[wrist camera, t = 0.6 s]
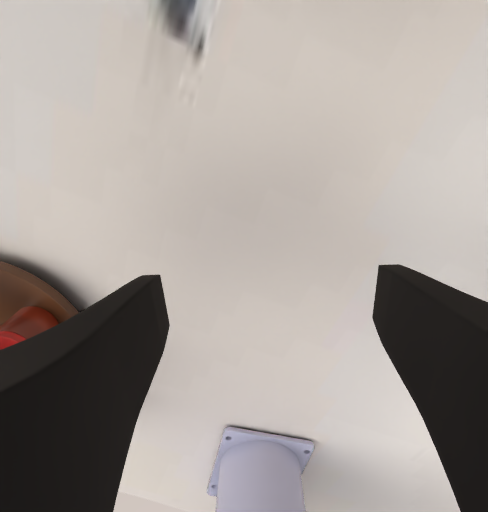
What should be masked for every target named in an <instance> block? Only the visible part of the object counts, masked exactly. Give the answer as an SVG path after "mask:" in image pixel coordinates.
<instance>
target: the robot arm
mask: <svg viewBox="0 0 488 512" xmlns="http://www.w3.org/2000/svg"><path fill="white" fill-rule="evenodd" d="M373 321H374V324H375V327H376V329H377V332H378V335H379V337H380V340H381V342H382V344H383V346H384V348H385V350H386V352H387V354H388V356H389V357H390V359H391V361H392V363H393V365H394V367H395V368H396V370H397V372H398V374H399V375H400V377H401V379H402V381H403V383H404V384H405V386H406V388H407V390H408V391H409V393H410V395H411V397H412V399H413V400H414V402H415V404H416V406H417V408H418V410H419V412H420V414H421V416H422V418H423V420H424V422H425V424H426V427H427V429H428V431H429V434H430V436H431V438H432V441H433V443H434V445H435V448H436V450H437V452H438V455H439V457H440V460H441V462H442V465H443V467H444V470H445V472H446V475H447V477H448V480H449V482H450V485H451V487H452V490H453V492H454V495H455V497H456V500H457V503H458V506H459V508H460V511H461V512H488V302H486V301H483V300H481V299H478V298H476V297H473V296H471V295H468V294H466V293H464V292H461V291H459V290H457V289H455V288H452V287H450V286H448V285H446V284H443V283H441V282H439V281H437V280H435V279H432V278H430V277H428V276H426V275H424V274H421V273H419V272H417V271H415V270H412V269H410V268H407V267H405V266H402V265H379V268H378V276H377V285H376V293H375V301H374V309H373ZM169 326H170V325H169V319H168V314H167V309H166V304H165V298H164V293H163V288H162V282H161V277H160V275H142V276H140V277H138V278H136V279H134V280H132V281H131V282H129V283H127V284H126V285H124V286H122V287H121V288H119V289H118V290H116V291H115V292H113V293H111V294H110V295H108V296H107V297H105V298H103V299H102V300H100V301H99V302H97V303H95V304H94V305H92V306H90V307H88V308H87V309H85V310H83V311H81V312H80V313H78V314H76V315H74V316H73V317H71V318H69V319H67V320H66V321H64V322H62V323H60V324H58V325H56V326H54V327H52V328H50V329H48V330H46V331H44V332H41V333H39V334H37V335H35V336H33V337H31V338H28V339H26V340H24V341H21V342H19V343H16V344H14V345H11V346H9V347H6V348H4V349H1V350H0V512H113V510H114V505H115V500H116V497H117V492H118V488H119V485H120V481H121V477H122V473H123V469H124V465H125V461H126V457H127V453H128V450H129V446H130V443H131V439H132V435H133V432H134V428H135V425H136V422H137V419H138V416H139V413H140V410H141V408H142V405H143V403H144V400H145V397H146V395H147V392H148V390H149V387H150V385H151V382H152V380H153V377H154V375H155V372H156V370H157V367H158V364H159V362H160V359H161V357H162V354H163V351H164V347H165V343H166V339H167V335H168V330H169ZM313 450H314V444H313V442H312V441H308V440H303V439H297V438H291V437H286V436H280V435H274V434H269V433H263V432H257V431H251V430H246V429H240V428H234V427H227V428H225V429H224V432H223V436H222V439H221V443H220V446H219V450H218V453H217V457H216V460H215V464H214V467H213V470H212V474H211V477H210V481H209V484H208V488H207V493H208V495H211V496H216V497H217V502H216V512H306V509H305V501H304V493H303V486H302V478H301V475H302V473H303V471H304V469H305V467H306V465H307V462H308V460H309V458H310V456H311V454H312V452H313Z"/></svg>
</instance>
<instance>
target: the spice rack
mask: <svg viewBox="0 0 488 512" xmlns="http://www.w3.org/2000/svg"><path fill="white" fill-rule="evenodd" d="M78 313H79V312H78V311H77V310H76V308H75V307H74V306H73V305H72V304H71V303H70V302H69V301H68V300H67V299H66V298H65V297H64V296H63V295H62V294H60V293H59V292H58V291H57V290H55V289H54V288H53V287H51V286H50V285H49V284H47V283H46V282H44V281H43V280H41V279H39V278H38V277H36V276H34V275H33V274H31V273H29V272H27V271H25V270H22V269H20V268H18V267H16V266H13V265H10V264H8V263H5V262H2V261H0V350H1V349H4V348H6V347H9V346H11V345H14V344H16V343H19V342H21V341H24V340H26V339H28V338H31V337H33V336H35V335H37V334H39V333H41V332H44V331H46V330H48V329H50V328H52V327H54V326H56V325H58V324H60V323H62V322H64V321H66V320H67V319H69V318H71V317H73V316H74V315H76V314H78Z"/></svg>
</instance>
